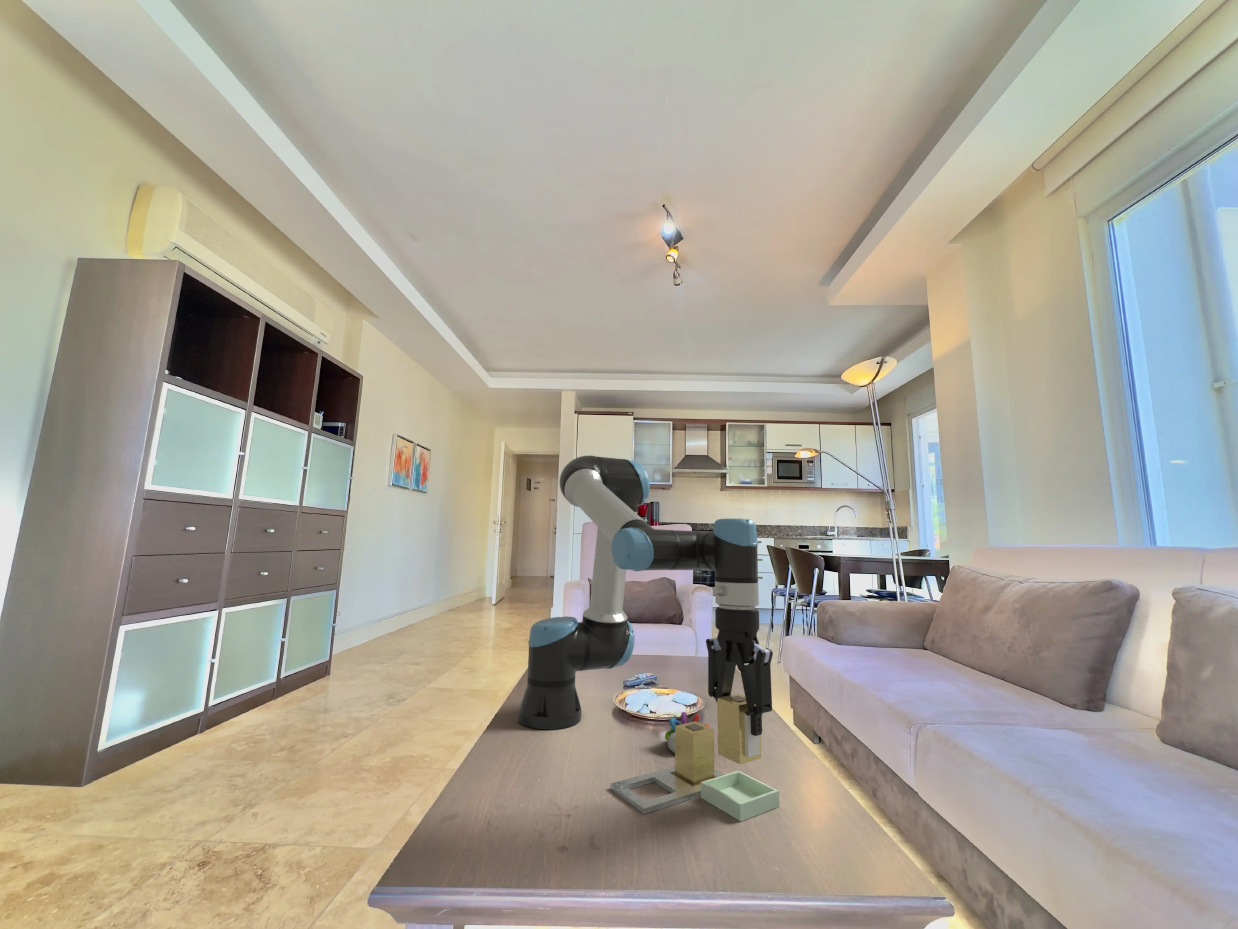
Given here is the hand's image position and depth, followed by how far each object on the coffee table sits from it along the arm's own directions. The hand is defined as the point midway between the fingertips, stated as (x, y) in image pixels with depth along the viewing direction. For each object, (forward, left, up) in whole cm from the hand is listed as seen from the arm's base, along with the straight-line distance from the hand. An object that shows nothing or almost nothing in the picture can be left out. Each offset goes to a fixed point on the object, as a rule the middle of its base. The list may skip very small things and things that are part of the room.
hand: (739, 749), depth 87 cm
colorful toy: (-22, +8, -9) cm, 25 cm away
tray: (0, 0, -8) cm, 8 cm away
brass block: (0, 0, -1) cm, 1 cm away
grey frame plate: (-10, -6, -8) cm, 14 cm away
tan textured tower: (-10, -1, -8) cm, 13 cm away
